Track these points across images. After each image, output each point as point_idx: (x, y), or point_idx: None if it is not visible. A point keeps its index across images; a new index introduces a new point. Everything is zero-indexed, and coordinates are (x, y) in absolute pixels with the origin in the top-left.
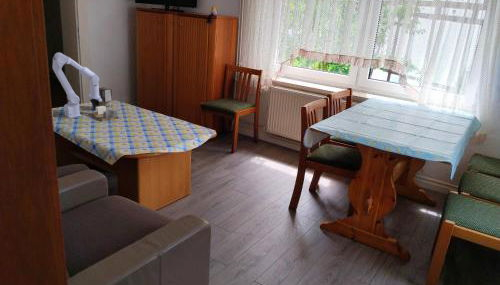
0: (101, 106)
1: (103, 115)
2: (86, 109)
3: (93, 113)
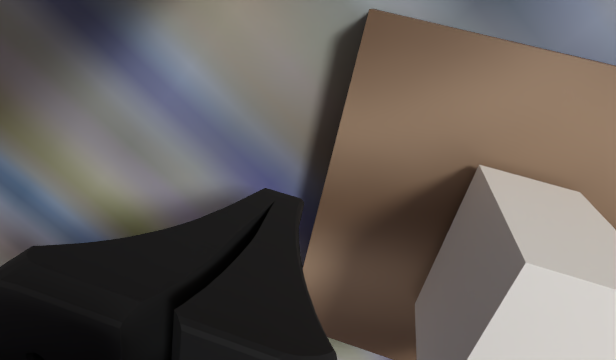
0: (522, 346)
1: None
2: (7, 74)
3: (350, 288)
